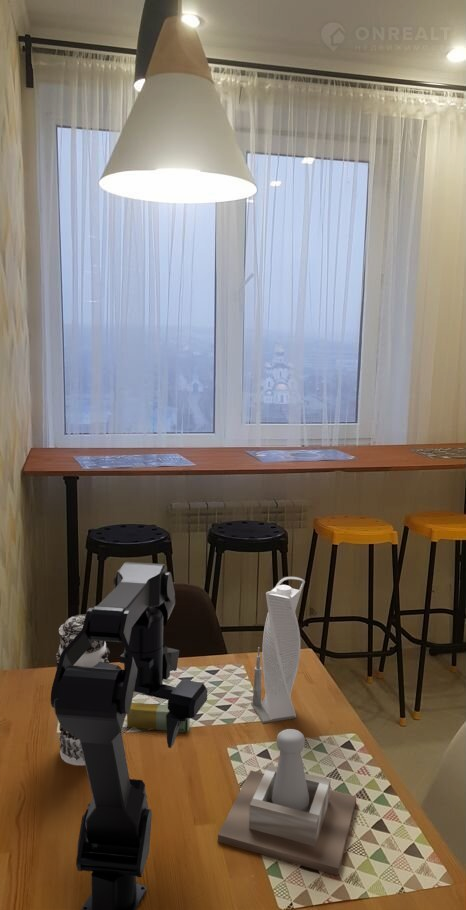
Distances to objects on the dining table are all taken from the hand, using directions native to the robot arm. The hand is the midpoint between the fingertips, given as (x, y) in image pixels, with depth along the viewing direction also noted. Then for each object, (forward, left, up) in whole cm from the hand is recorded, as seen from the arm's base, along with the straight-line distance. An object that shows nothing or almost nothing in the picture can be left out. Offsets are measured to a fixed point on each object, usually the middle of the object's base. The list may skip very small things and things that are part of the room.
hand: (143, 739), depth 103 cm
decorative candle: (+11, +17, -13) cm, 24 cm away
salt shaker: (+7, -22, -12) cm, 26 cm away
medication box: (+23, +8, -13) cm, 28 cm away
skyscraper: (+36, -12, -13) cm, 40 cm away
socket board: (+7, -22, -13) cm, 26 cm away
